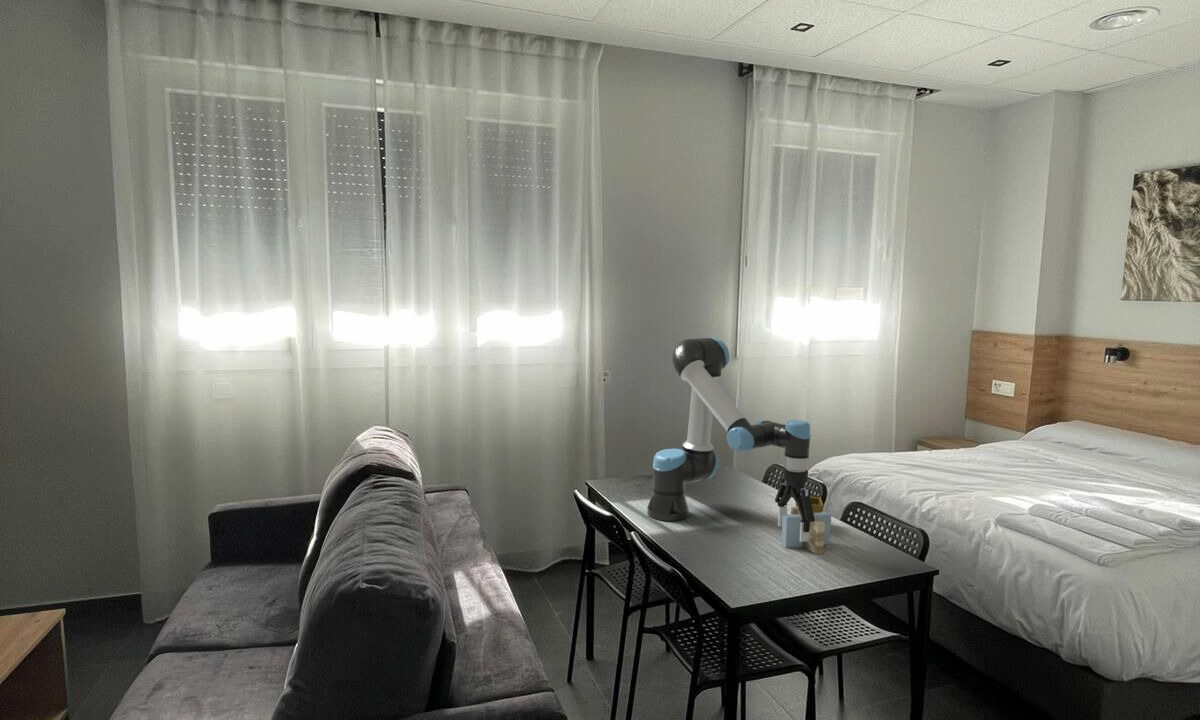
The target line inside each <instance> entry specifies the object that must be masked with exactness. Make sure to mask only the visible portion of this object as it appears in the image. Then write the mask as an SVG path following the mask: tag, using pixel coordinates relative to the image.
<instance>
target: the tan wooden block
mask: <svg viewBox="0 0 1200 720" xmlns="http://www.w3.org/2000/svg"><path fill="white" fill-rule="evenodd" d="M792 514H800V511H799V508H798V507H796V506H791V507H790V515H792ZM814 518H815V521H814V522H810V530H809V541H805V542H803V546H802V547H804V548H807V550H809V551H810V552H812V553H814V554H815V555H824V548H825V545H824V534H825V523H824V522H822V521H821V520H819V519H817V518H816V517H814Z"/></svg>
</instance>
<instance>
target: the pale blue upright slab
mask: <svg viewBox="0 0 1200 720" xmlns="http://www.w3.org/2000/svg"><path fill="white" fill-rule="evenodd" d="M814 517H816V518H817V519H819V520H821V521H822V522H824V523H825V534H824V546H825V545H830V544H831V543H830V542H831V530H832V529H831V528H832V514H831V513H830V512H828V511H822V512H820V513H814ZM801 520H802V518H801V514H792V515H791V514H787V515H783V526H781V527H782V528H781V529H782V531H781V546H782V547H783V548H785V549H790V548H800V547H801V548H803V547H804V546H803V542H800V523H801Z"/></svg>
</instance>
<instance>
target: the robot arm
mask: <svg viewBox="0 0 1200 720" xmlns="http://www.w3.org/2000/svg"><path fill="white" fill-rule="evenodd" d="M671 356H672V357H671V362H672V365H673V368H674V369H675V372H676V373H677V375H678V377H680V379H681V380H682V381H684V382H687V383H688V384H689V385H690V387H691V393H690V394H691V395H690V404H689V405H690V406H689V415H688V424H687V425H688V427H687V438H686V440H685V441H684V442H683V443H682V447H681V448H665V449H661V450H659V451H657V452H656V453H655V454H654V455H653V463H652V493H651V496H650V498H649V501H648V505H647V511H646V513H647V515H648V517H650V518H651V519H654V520H659V521H662V522H663V521H664V522H677V521H679V522H680V521H683V520H686V519H687V518H689V516H690V515H689V513H690V510H689V509H690V508H689V506H688V505H689V504H688V503H687V498H686V495H685V490H686V488H685V487H686V486H685V485H687V484H690V483H695V482H699V481H702V482H703V481H705V480H707V479H711V478H712V477H713V476H714V475H716V473H717V471H718V468H719V462H720V461H719V457H718V456H717V455H718V454H717V452H716V451H715V450H714V445H713V444H712V443H711V436H712V428H713V427H712V425H713V417H715V418H716V420H717V421H718V422H719V424H720V425H721V426H722V428H723V429H724V430H725V431H726V433H727V434H726V441H727V445H728V447H730V448H731V450H733V451H736V452H747V451H749V450H754V449H759V448H760V449H761V448H766V447H770V446H774V447H778V448H782V449H784V456H783V457H784V460H783V467H784V468H783V477H782V478H781V479H780V485H779V488H778V490H777V493H776V496H775V499H774V501H775V503H776V504H777V506H778V518H777V520H778V521H777V526H778V527H783V515H788V503H789V502H790V500H791V499H793V500H794V502H795V503H796V502H797V505H798V508H799V511H800V514H801V518H802V520H801V523H800V542H805V541H809V530H810V522H814V521H815V518H814V513H813V508H812V503H811V498H810V497H811V489H809V488H808V489H806V488H805V484H807V482H808V480H809V471H808V470H809V461H810V457H809V456H810V443H811V425H810V423H809V422H808V421H804V420H799V419H789V420H787V421H786V423H785V424H783V423H779V422H775V421H771V420H765V419H764V420H763V419H761V420H758V421H757V422H756V423H754V424H751V423H750V422H749V421H748V419H747V418H746V417H745V416H744V415H743V413H742V412H741V410H739V408H738V407H737V406H736V405H735V403H734V402H733V401H732V399H730V398H729V396H728V395H727V394H726V392H725V391H724V390H723V389H722V388H721V386H720V385H719V383H717V380H718V379H719V378H721V376H722V370H723V369H724V368H726V366H728V364H729V361H730V352H729V349H728V346H727V345H726V344H725V342H724V341H722V339H719V338H717V337H716V338H715V337H701V338H700V337H699V338H698V337H697V338H686V339H683V340H680V342H678V343H677V344H676V345H675V347H674V348H673V351H672V354H671Z"/></svg>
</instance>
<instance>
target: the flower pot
mask: <svg viewBox="0 0 1200 720" xmlns="http://www.w3.org/2000/svg"><path fill="white" fill-rule="evenodd" d="M810 498H811V503H812V508H813V513H820V512H824V511H823V510H824V503H823V501H822V498H821V497H818V496H817V497H816V496H810ZM795 507H798V505H797V502H795Z"/></svg>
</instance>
